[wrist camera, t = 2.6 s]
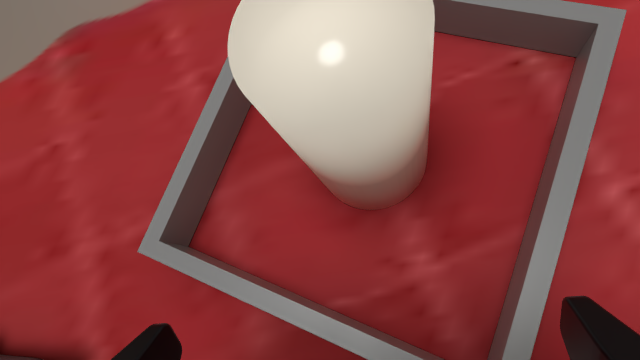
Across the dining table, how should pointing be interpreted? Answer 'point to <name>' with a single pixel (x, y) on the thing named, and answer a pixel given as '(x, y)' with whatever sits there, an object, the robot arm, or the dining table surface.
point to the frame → (544, 221)
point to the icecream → (16, 358)
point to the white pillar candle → (342, 88)
